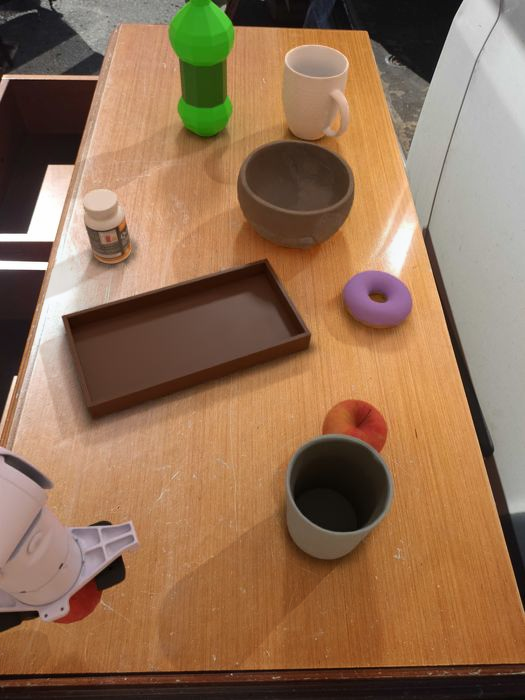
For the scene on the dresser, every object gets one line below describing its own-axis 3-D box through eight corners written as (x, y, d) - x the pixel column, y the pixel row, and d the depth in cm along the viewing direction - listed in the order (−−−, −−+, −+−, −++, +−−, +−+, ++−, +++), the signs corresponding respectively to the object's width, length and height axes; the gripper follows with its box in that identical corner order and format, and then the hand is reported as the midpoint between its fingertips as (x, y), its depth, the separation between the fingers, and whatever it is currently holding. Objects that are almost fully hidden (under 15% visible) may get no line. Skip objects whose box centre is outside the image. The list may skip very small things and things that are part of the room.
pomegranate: (48, 637, 51) (22, 623, 45) (45, 574, 54) (20, 552, 48) (112, 619, 52) (95, 603, 46) (105, 558, 56) (89, 534, 49)
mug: (363, 146, 102) (378, 77, 92) (316, 166, 98) (327, 97, 88) (312, 106, 109) (321, 38, 98) (267, 124, 105) (271, 54, 94)
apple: (305, 442, 68) (313, 411, 61) (348, 409, 70) (359, 375, 64) (348, 487, 65) (361, 459, 58) (390, 451, 67) (407, 420, 61)
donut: (421, 299, 81) (427, 281, 77) (390, 348, 78) (395, 332, 74) (361, 269, 84) (364, 250, 80) (329, 315, 81) (330, 298, 77)
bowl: (330, 276, 83) (341, 226, 75) (219, 245, 86) (218, 193, 78) (357, 204, 93) (369, 152, 85) (256, 178, 96) (258, 126, 87)
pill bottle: (136, 259, 84) (125, 208, 75) (98, 269, 82) (83, 217, 74) (127, 234, 87) (115, 182, 78) (90, 243, 85) (74, 191, 77)
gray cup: (385, 519, 63) (414, 478, 53) (330, 590, 58) (351, 560, 48) (315, 462, 66) (330, 413, 56) (258, 524, 62) (263, 484, 52)
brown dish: (92, 420, 68) (87, 407, 66) (66, 329, 76) (61, 315, 73) (309, 347, 76) (311, 334, 73) (265, 272, 83) (266, 257, 81)
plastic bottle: (214, 151, 99) (209, -1, 79) (166, 131, 102) (149, -21, 82) (244, 124, 104) (247, -25, 84) (198, 106, 107) (190, -44, 87)
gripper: (-76, 653, 36) (-4, 672, 47) (141, 564, 40) (160, 601, 51) (-84, 550, 40) (-15, 591, 51) (116, 478, 44) (139, 530, 55)
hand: (71, 591), depth 51 cm, fingers closed on pomegranate, 6 cm apart
